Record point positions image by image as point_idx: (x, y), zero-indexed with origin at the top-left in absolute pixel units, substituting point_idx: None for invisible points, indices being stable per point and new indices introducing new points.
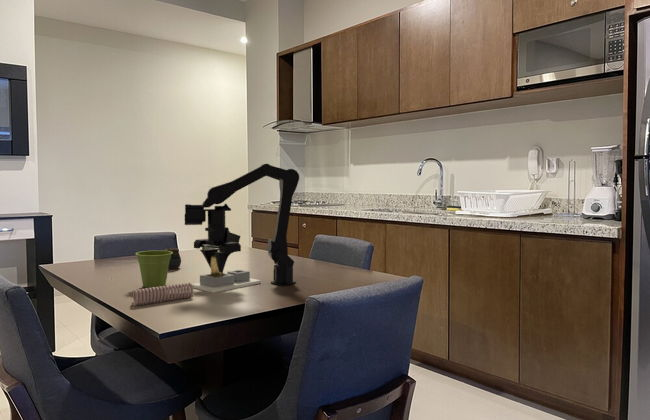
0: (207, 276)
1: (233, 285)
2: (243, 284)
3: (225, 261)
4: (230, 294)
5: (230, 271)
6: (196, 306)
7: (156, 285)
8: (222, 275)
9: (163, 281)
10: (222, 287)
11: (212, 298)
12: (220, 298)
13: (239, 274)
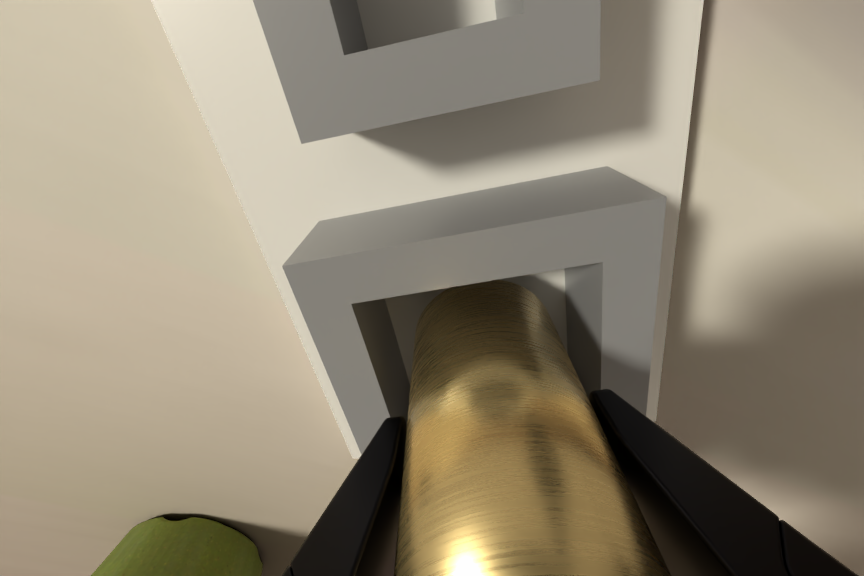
0: None
1: (672, 214)
2: (691, 47)
3: (803, 553)
4: (819, 330)
5: (306, 81)
6: (840, 552)
7: (261, 572)
8: (561, 341)
9: (235, 569)
10: (657, 339)
11: (784, 456)
12: (838, 426)
13: (592, 17)
